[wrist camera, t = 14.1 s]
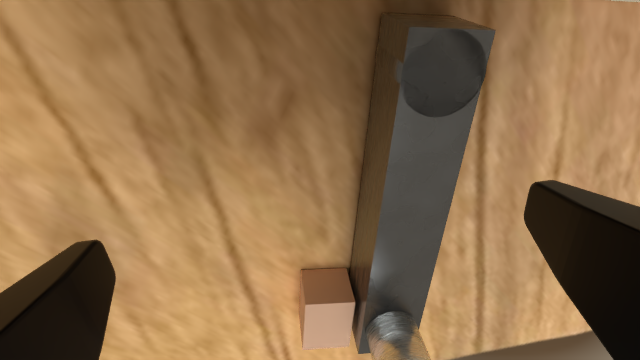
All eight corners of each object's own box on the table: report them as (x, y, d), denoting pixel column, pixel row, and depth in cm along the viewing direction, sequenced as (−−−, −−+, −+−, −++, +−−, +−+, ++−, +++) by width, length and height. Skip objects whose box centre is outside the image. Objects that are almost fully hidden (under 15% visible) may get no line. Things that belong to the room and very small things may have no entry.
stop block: (301, 269, 26) (305, 304, 23) (346, 268, 26) (355, 302, 24) (299, 313, 28) (302, 349, 25) (340, 310, 28) (348, 346, 26)
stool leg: (380, 12, 19) (466, 56, 11) (454, 16, 19) (586, 60, 11) (345, 303, 28) (377, 440, 20) (395, 301, 28) (446, 433, 20)
